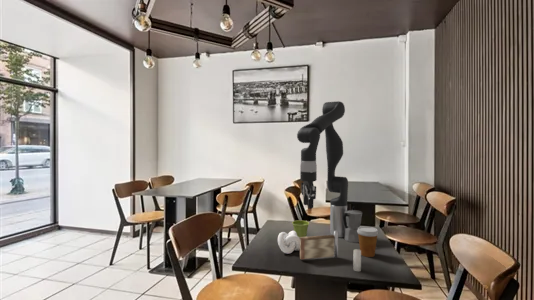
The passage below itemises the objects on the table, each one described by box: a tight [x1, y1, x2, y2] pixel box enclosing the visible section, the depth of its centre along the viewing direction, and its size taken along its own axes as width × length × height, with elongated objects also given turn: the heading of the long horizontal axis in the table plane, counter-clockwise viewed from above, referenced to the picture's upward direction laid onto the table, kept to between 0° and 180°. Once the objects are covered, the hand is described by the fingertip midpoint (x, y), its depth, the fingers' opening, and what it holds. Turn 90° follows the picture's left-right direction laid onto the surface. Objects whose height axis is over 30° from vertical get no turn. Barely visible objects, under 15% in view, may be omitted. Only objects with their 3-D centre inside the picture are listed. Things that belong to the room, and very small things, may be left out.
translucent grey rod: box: [333, 231, 339, 259], centre depth 132 cm, size 2×2×12 cm
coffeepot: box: [343, 206, 363, 243], centre depth 156 cm, size 15×9×18 cm, turn 129°
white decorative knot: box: [277, 230, 300, 254], centre depth 140 cm, size 11×12×9 cm
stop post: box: [352, 248, 362, 272], centre depth 119 cm, size 3×3×8 cm
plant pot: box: [291, 220, 310, 238], centre depth 159 cm, size 9×9×9 cm
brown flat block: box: [299, 234, 334, 260], centre depth 131 cm, size 16×2×10 cm, turn 102°
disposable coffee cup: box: [357, 226, 379, 258], centre depth 136 cm, size 10×10×12 cm
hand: (308, 206), depth 136 cm, fingers open, 6 cm apart
